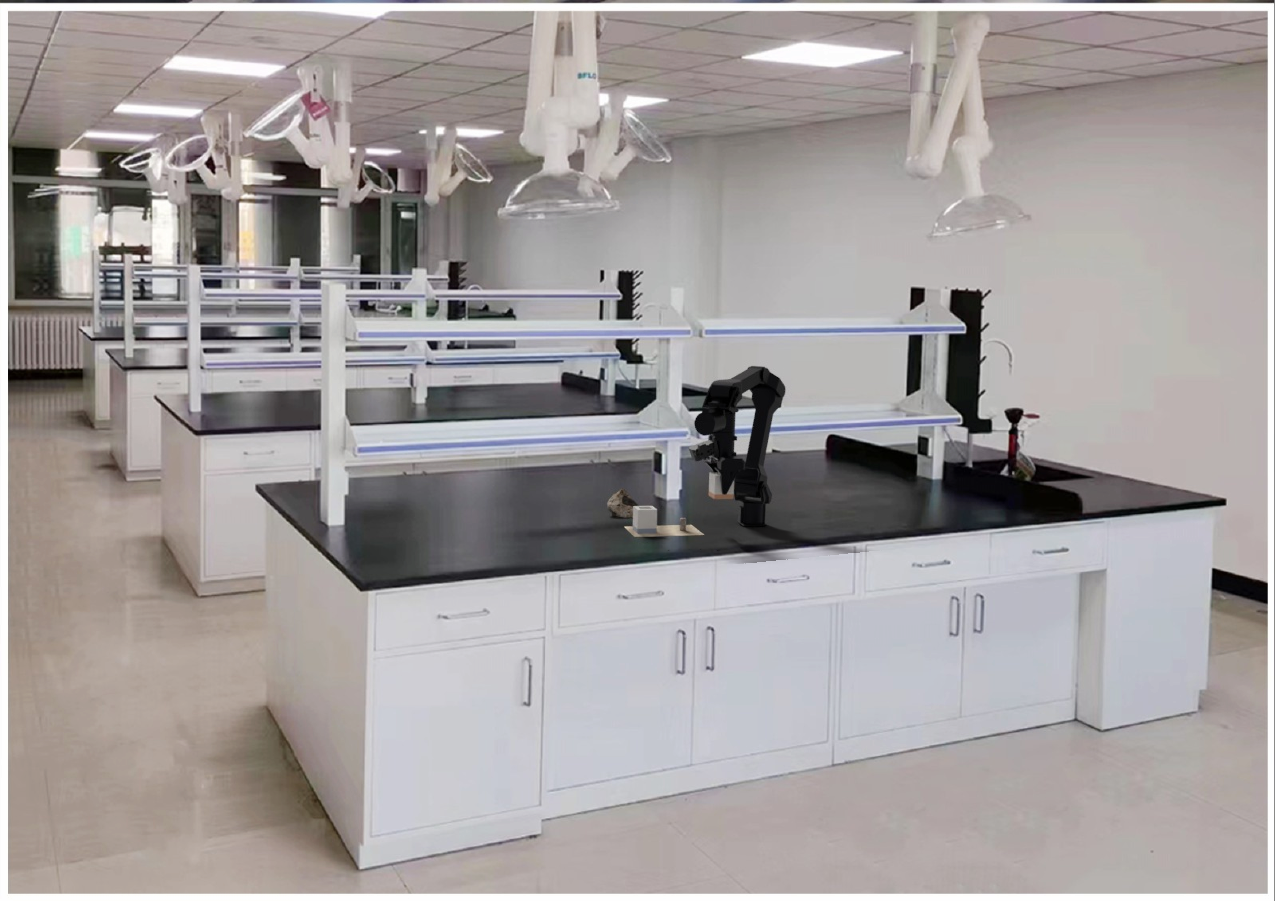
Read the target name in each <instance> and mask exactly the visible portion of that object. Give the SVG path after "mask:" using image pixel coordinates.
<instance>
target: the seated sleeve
mask: <svg viewBox="0 0 1275 901" xmlns="http://www.w3.org/2000/svg"><path fill="white" fill-rule="evenodd" d="M632 526H633V530H634V531H635V532H636V533H637V534H642V533H657V526H658V508H656V507H654V506H653V505H639V506H633V517H632Z"/></svg>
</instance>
